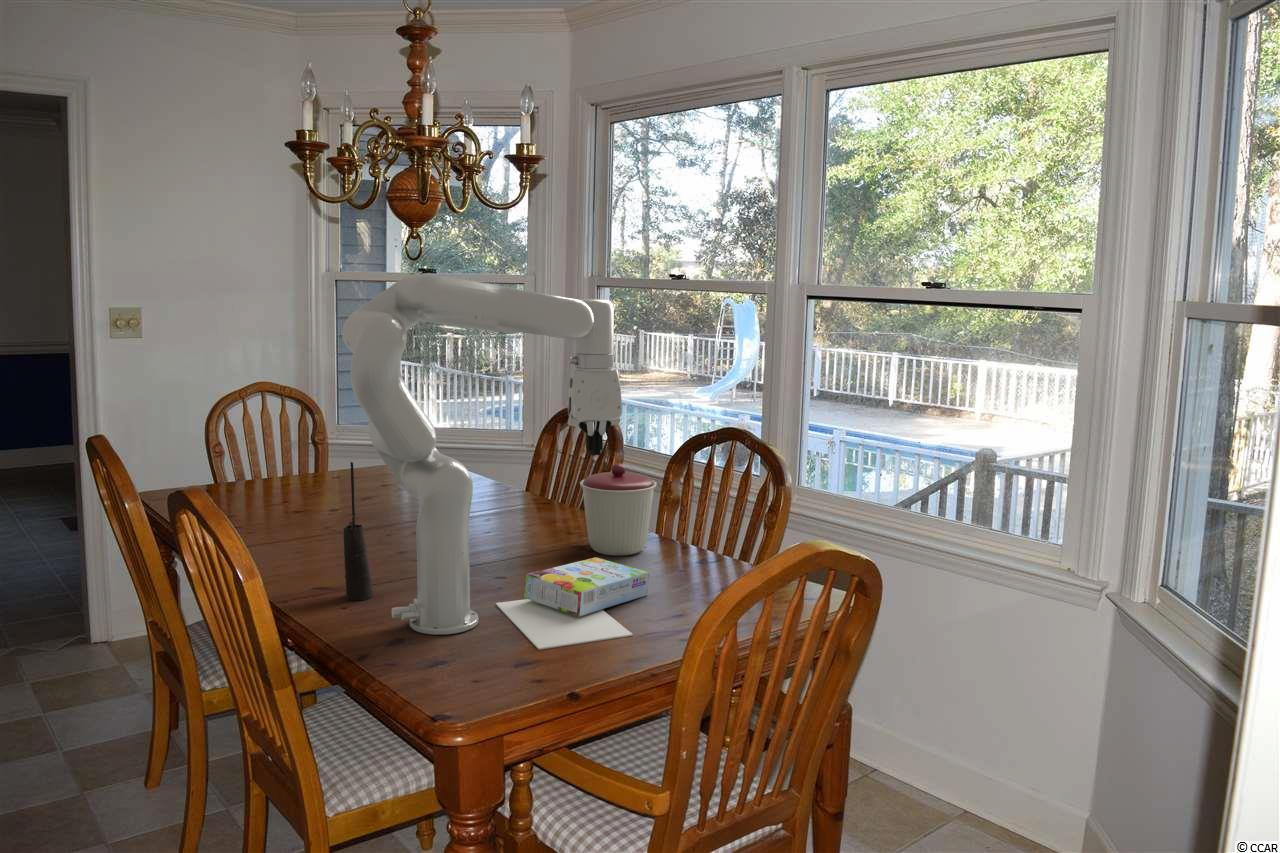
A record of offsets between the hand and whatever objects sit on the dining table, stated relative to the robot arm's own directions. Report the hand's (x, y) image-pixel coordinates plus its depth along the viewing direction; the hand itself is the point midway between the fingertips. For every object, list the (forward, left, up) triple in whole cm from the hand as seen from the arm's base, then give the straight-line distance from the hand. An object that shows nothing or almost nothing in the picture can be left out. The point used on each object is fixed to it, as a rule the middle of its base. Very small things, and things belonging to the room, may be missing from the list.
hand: (594, 454), depth 198 cm
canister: (+18, +30, -30) cm, 46 cm away
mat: (-11, -10, -30) cm, 33 cm away
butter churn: (-44, +19, -30) cm, 56 cm away
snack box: (+2, -8, -27) cm, 28 cm away
